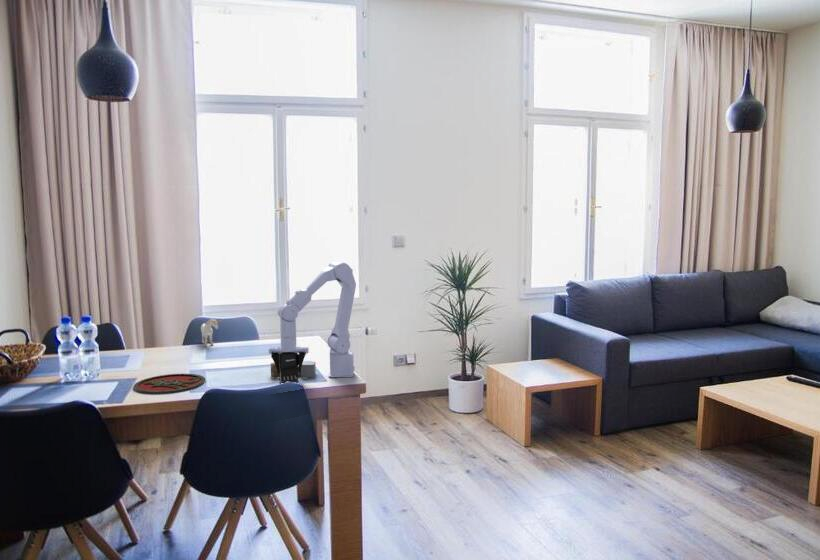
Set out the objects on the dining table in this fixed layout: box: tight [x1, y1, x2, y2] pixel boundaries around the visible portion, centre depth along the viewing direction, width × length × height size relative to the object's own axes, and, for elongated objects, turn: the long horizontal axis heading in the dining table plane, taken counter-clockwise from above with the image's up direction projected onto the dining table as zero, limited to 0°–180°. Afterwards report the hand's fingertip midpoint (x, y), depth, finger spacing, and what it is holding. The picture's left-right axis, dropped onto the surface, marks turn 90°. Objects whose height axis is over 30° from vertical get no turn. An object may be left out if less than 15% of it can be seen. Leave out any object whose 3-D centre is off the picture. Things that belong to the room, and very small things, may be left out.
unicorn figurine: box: [200, 318, 226, 347], centre depth 298 cm, size 7×20×13 cm, turn 46°
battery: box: [279, 351, 299, 383], centre depth 232 cm, size 7×4×11 cm, turn 116°
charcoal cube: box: [300, 361, 317, 378], centre depth 240 cm, size 5×5×5 cm
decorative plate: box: [133, 373, 207, 395], centre depth 230 cm, size 25×1×25 cm
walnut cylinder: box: [270, 362, 280, 379], centre depth 240 cm, size 5×5×5 cm
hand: (289, 372), depth 232 cm, fingers open, 7 cm apart
